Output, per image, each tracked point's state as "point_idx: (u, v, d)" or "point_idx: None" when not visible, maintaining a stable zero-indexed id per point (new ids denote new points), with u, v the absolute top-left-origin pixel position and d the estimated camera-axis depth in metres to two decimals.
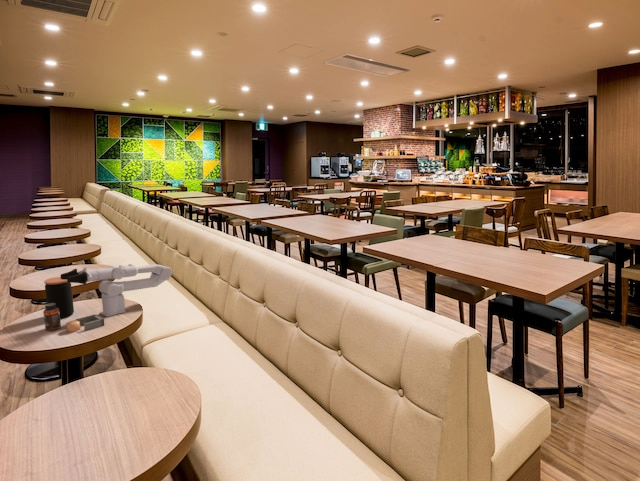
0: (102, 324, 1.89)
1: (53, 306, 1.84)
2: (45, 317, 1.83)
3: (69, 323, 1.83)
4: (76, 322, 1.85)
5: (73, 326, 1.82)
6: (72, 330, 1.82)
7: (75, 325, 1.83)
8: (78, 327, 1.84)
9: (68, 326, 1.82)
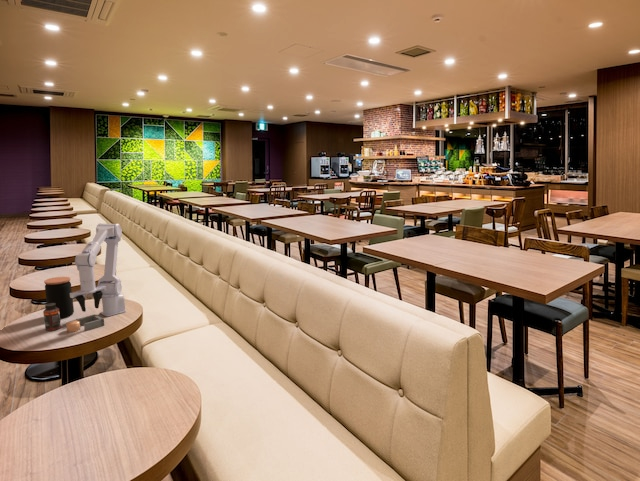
0: (102, 324, 1.89)
1: (53, 306, 1.84)
2: (45, 317, 1.83)
3: (69, 323, 1.83)
4: (76, 322, 1.85)
5: (73, 326, 1.82)
6: (72, 330, 1.82)
7: (75, 325, 1.83)
8: (78, 327, 1.84)
9: (68, 326, 1.82)
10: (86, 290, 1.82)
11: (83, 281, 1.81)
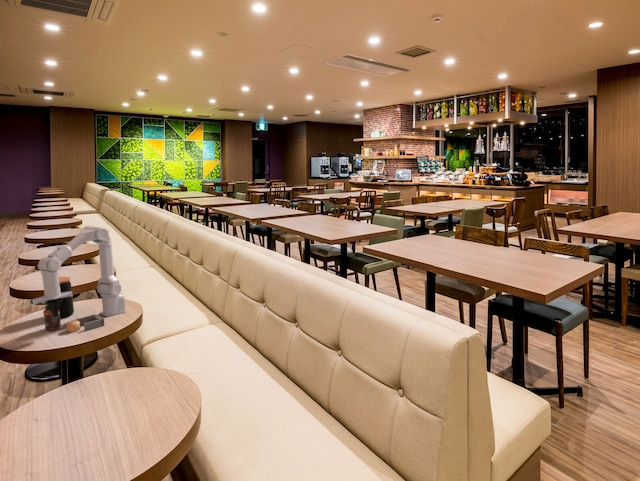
0: (102, 324, 1.89)
1: None
2: (45, 317, 1.83)
3: (69, 323, 1.83)
4: (76, 322, 1.85)
5: (73, 326, 1.82)
6: (72, 330, 1.82)
7: (75, 325, 1.83)
8: (78, 327, 1.84)
9: (68, 326, 1.82)
10: (50, 296, 1.74)
11: (46, 287, 1.73)
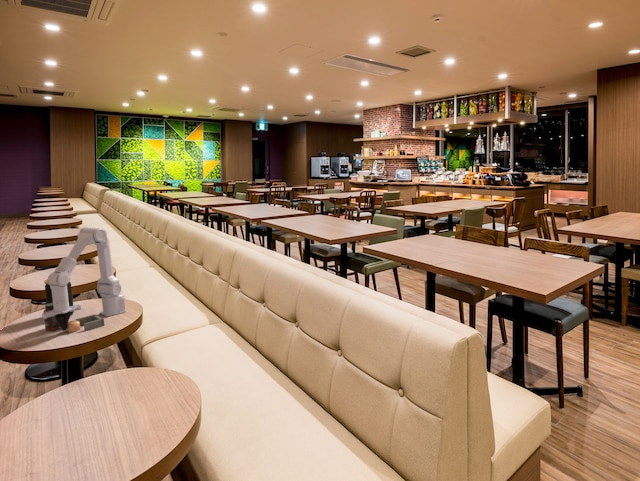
0: (102, 324, 1.89)
1: (53, 306, 1.84)
2: None
3: (69, 323, 1.83)
4: (76, 322, 1.85)
5: (73, 326, 1.82)
6: (72, 330, 1.82)
7: (75, 325, 1.83)
8: (78, 327, 1.84)
9: (68, 326, 1.82)
10: (59, 310, 1.77)
11: (56, 301, 1.76)
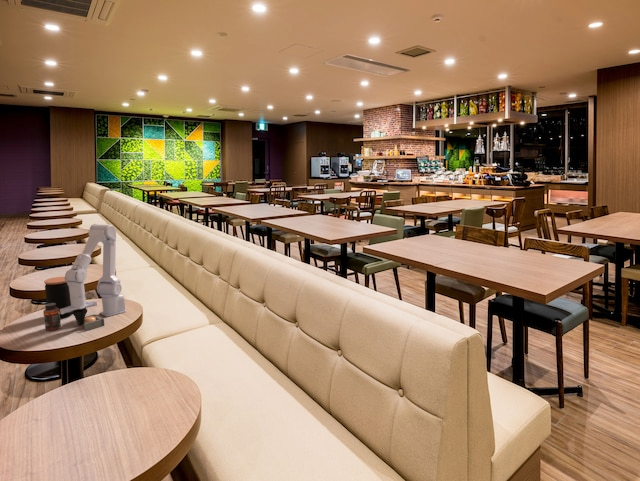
0: (102, 324, 1.89)
1: (53, 306, 1.84)
2: (45, 317, 1.83)
3: (85, 318, 1.88)
4: (92, 318, 1.90)
5: (89, 321, 1.87)
6: None
7: (91, 320, 1.88)
8: None
9: (84, 321, 1.87)
10: (76, 306, 1.82)
11: (73, 297, 1.81)
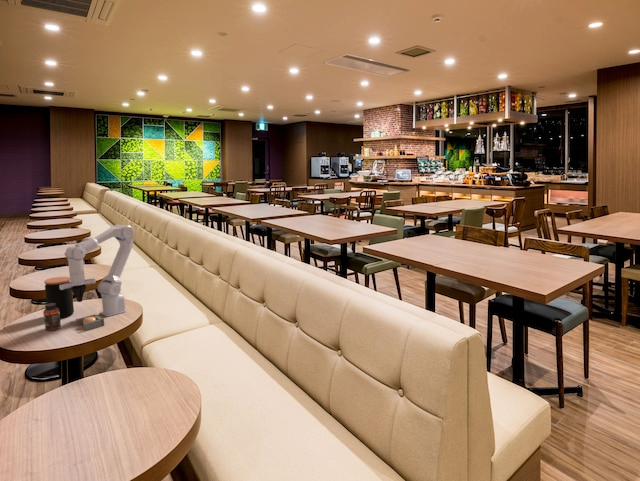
0: (102, 324, 1.89)
1: (53, 306, 1.84)
2: (45, 317, 1.83)
3: (85, 319, 1.88)
4: (92, 318, 1.90)
5: (89, 321, 1.87)
6: None
7: (91, 321, 1.88)
8: None
9: (84, 322, 1.87)
10: (75, 282, 1.87)
11: (72, 273, 1.86)
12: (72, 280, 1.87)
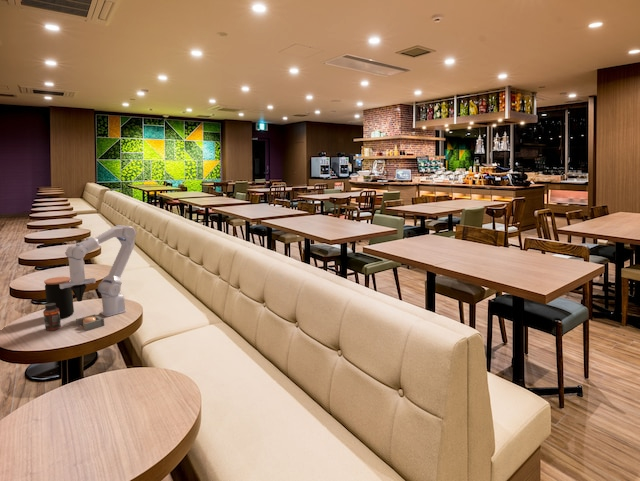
0: (102, 324, 1.89)
1: (53, 306, 1.84)
2: (45, 317, 1.83)
3: (85, 319, 1.88)
4: (92, 318, 1.90)
5: (89, 321, 1.87)
6: None
7: (91, 321, 1.88)
8: None
9: (84, 322, 1.87)
10: (75, 282, 1.87)
11: (73, 273, 1.87)
12: (72, 279, 1.87)
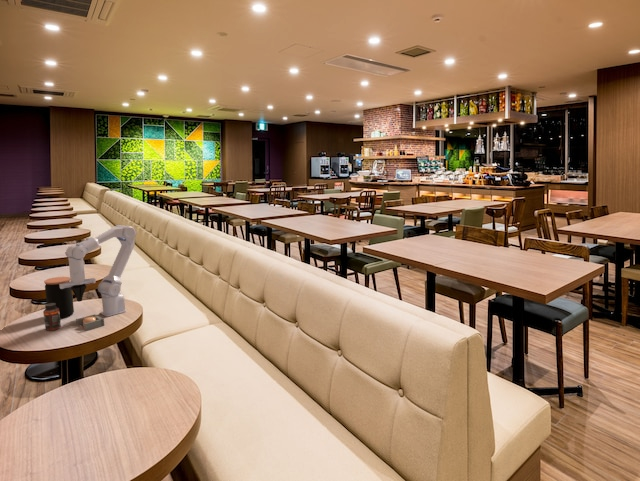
0: (102, 324, 1.89)
1: (53, 306, 1.84)
2: (45, 317, 1.83)
3: (85, 319, 1.88)
4: (92, 318, 1.90)
5: (89, 321, 1.87)
6: None
7: (91, 321, 1.88)
8: None
9: (84, 322, 1.87)
10: (75, 282, 1.87)
11: (73, 273, 1.87)
12: (72, 279, 1.87)
